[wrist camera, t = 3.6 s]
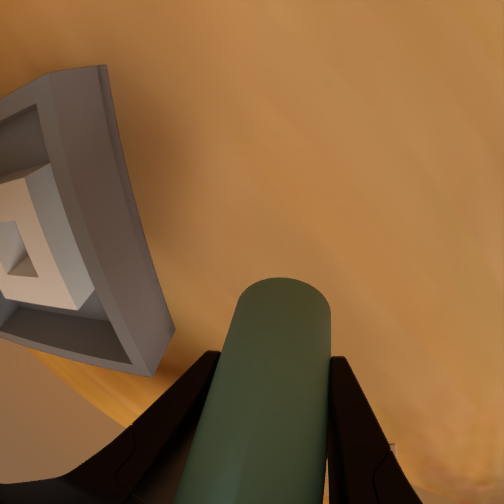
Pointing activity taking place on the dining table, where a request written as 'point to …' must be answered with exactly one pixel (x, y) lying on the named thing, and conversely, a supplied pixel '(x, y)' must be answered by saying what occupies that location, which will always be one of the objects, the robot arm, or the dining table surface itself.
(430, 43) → the dining table surface
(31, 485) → the robot arm
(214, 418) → the peg
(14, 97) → the box
